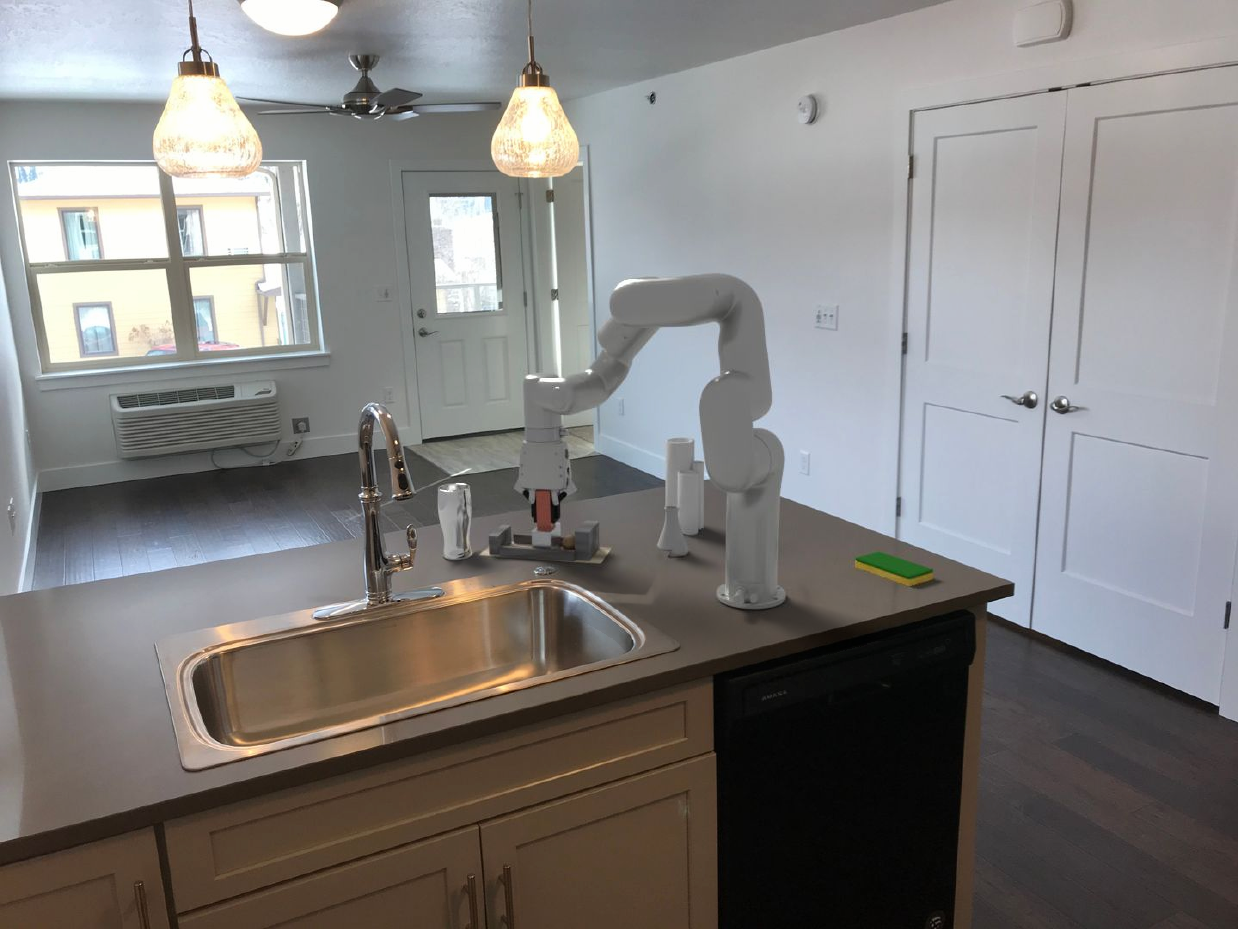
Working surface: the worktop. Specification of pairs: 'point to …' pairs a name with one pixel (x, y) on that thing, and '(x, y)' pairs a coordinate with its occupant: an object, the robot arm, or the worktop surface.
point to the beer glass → (455, 520)
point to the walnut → (569, 542)
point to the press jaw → (545, 523)
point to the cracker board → (522, 548)
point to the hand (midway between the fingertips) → (546, 520)
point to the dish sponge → (894, 568)
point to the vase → (685, 483)
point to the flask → (672, 533)
